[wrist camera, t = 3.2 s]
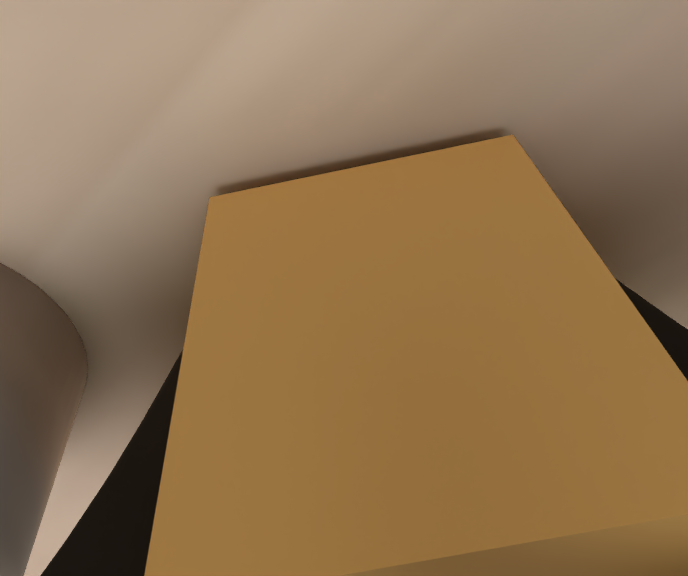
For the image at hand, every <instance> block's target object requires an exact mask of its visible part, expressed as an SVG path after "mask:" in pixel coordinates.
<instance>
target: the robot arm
mask: <svg viewBox="0 0 688 576" xmlns="http://www.w3.org/2000/svg"><path fill="white" fill-rule="evenodd" d="M616 281H617V282H618V284H619V285H620V286H621V288H622V289H623V291H624V292H625V293H626V295H627V296H628V298H629V299H630V300H631V302H632V303H633V305H634V306H635V308H636V309H637V310H638V312H639V313H640V315H641V316H642V317H643V319H644V320H645V322H646V323H647V324H648V326H649V327H650V329H651V330H652V331H653V333H654V334H655V336H656V337H657V339H658V340H659V341H660V343H661V344H662V346H663V347H664V348H665V350H666V351H667V353H668V354H669V355H670V357H671V358H672V360H673V361H674V362H675V364H676V365H677V367H678V368H679V370H680V371H681V372H682V374H683V375H684V377H685V378H686V379H687V381H688V330H687V329H686V328H685V327H683V326H682V325H680V324H679V323H677V322H676V321H674V320H673V319H672V318H670V317H669V316H667V315H666V314H664V313H663V312H662V311H660V310H659V309H657V308H656V307H655V306H653V305H652V304H650V303H649V302H647V301H646V300H645V299H643V298H642V297H640V296H639V295H638V294H636V293H635V292H633V291H632V290H631V289H629V288H628V287H626V286H625V285H624V284H622V283H621V282H619V281H618V280H617V279H616ZM182 354H183V350H182V352H181V354H180V355H179V357H178V359H177V360H176V362H175V364H174V366H173V368H172V369H171V371H170V373H169V375H168V377H167V378H166V380H165V382H164V384H163V385H162V387H161V389H160V391H159V393H158V394H157V396H156V398H155V400H154V401H153V403H152V405H151V407H150V408H149V410H148V412H147V414H146V415H145V417H144V419H143V420H142V422H141V424H140V426H139V427H138V429H137V431H136V432H135V434H134V435H133V437H132V439H131V440H130V442H129V444H128V445H127V447H126V449H125V450H124V452H123V454H122V455H121V457H120V459H119V460H118V462H117V464H116V465H115V467H114V468H113V470H112V472H111V473H110V475H109V476H108V478H107V480H106V481H105V483H104V484H103V486H102V487H101V489H100V490H99V492H98V493H97V495H96V496H95V498H94V499H93V501H92V502H91V504H90V505H89V507H88V508H87V510H86V511H85V513H84V514H83V516H82V517H81V519H80V520H79V522H78V523H77V525H76V526H75V528H74V529H73V531H72V532H71V534H70V535H69V537H68V538H67V540H66V541H65V542H64V544H63V545H62V547H61V548H60V549H59V551H58V552H57V554H56V555H55V556H54V558H53V559H52V561H51V562H50V563H49V565H48V566H47V568H46V569H45V570H44V572H43V573H42V574H41V576H144V575H145V569H146V563H147V557H148V551H149V546H150V540H151V534H152V528H153V522H154V517H155V511H156V505H157V499H158V493H159V488H160V482H161V476H162V470H163V464H164V459H165V453H166V447H167V441H168V435H169V430H170V424H171V418H172V412H173V406H174V401H175V395H176V389H177V383H178V377H179V372H180V366H181V360H182Z"/></svg>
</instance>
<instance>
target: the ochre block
mask: <svg viewBox="0 0 688 576" xmlns="http://www.w3.org/2000/svg"><path fill="white" fill-rule="evenodd" d="M144 576H688V381H687V379H686V378H685V377H684V375H683V374H682V372H681V371H680V370H679V368H678V367H677V365H676V364H675V362H674V361H673V360H672V358H671V357H670V355H669V354H668V353H667V351H666V350H665V348H664V347H663V346H662V344H661V343H660V341H659V340H658V339H657V337H656V336H655V334H654V333H653V331H652V330H651V329H650V327H649V326H648V324H647V323H646V322H645V320H644V319H643V317H642V316H641V315H640V313H639V312H638V310H637V309H636V308H635V306H634V305H633V303H632V302H631V300H630V299H629V298H628V296H627V295H626V293H625V292H624V291H623V289H622V288H621V286H620V285H619V284H618V282H617V281H616V279H615V278H614V276H613V275H612V274H611V272H610V271H609V269H608V268H607V267H606V265H605V264H604V262H603V261H602V260H601V258H600V257H599V255H598V254H597V253H596V251H595V250H594V248H593V247H592V245H591V244H590V243H589V241H588V240H587V238H586V237H585V236H584V234H583V233H582V231H581V230H580V229H579V227H578V226H577V224H576V223H575V222H574V220H573V219H572V217H571V216H570V214H569V213H568V212H567V210H566V209H565V207H564V206H563V205H562V203H561V202H560V200H559V199H558V198H557V196H556V195H555V193H554V192H553V191H552V189H551V188H550V186H549V185H548V183H547V182H546V181H545V179H544V178H543V176H542V175H541V174H540V172H539V171H538V169H537V168H536V167H535V165H534V164H533V162H532V161H531V160H530V158H529V157H528V155H527V154H526V152H525V151H524V150H523V148H522V147H521V145H520V144H519V143H518V141H517V140H516V138H515V137H514V136H513V135H508V136H504V137H499V138H494V139H489V140H484V141H479V142H475V143H470V144H465V145H460V146H455V147H450V148H446V149H441V150H436V151H431V152H426V153H421V154H416V155H412V156H407V157H402V158H397V159H392V160H387V161H383V162H378V163H373V164H368V165H363V166H358V167H354V168H349V169H344V170H339V171H334V172H329V173H325V174H320V175H315V176H310V177H305V178H300V179H296V180H291V181H286V182H281V183H276V184H271V185H266V186H262V187H257V188H252V189H247V190H242V191H237V192H233V193H228V194H223V195H218V196H213V197H210V198H209V204H208V209H207V215H206V221H205V227H204V233H203V238H202V244H201V250H200V256H199V262H198V267H197V273H196V279H195V285H194V291H193V296H192V302H191V308H190V314H189V320H188V325H187V331H186V337H185V343H184V348H183V354H182V360H181V366H180V372H179V377H178V383H177V389H176V395H175V401H174V406H173V412H172V418H171V424H170V430H169V435H168V441H167V447H166V453H165V459H164V464H163V470H162V476H161V482H160V488H159V493H158V499H157V505H156V511H155V517H154V522H153V528H152V534H151V540H150V546H149V551H148V557H147V563H146V569H145V575H144Z"/></svg>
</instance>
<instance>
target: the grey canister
mask: <svg viewBox="0 0 688 576" xmlns="http://www.w3.org/2000/svg"><path fill="white" fill-rule="evenodd" d="M87 370H88V364H87V357H86V352H85V349H84V346H83V343H82V340H81V338H80V336H79V334H78V332H77V330H76V328H75V326H74V325H73V323H72V322H71V321H70V319H69V318H68V316H67V315H66V314H65V312H64V311H63V310H62V309H61V308H60V307H59V306H58V305H57V304H56V302H55V301H54V300H53V299H52V298H51V297H49V296H48V295H47V294H46V293H45V292H44V291H42V290H41V289H40V288H39V287H38V286H36V285H35V284H34V283H32V282H31V281H29V280H28V279H27V278H25V277H24V276H22V275H21V274H19V273H17V272H16V271H14V270H12V269H10V268H9V267H7V266H5V265H3V264H1V263H0V576H23V575H24V572H25V569H26V566H27V563H28V560H29V557H30V554H31V551H32V548H33V545H34V542H35V539H36V535H37V532H38V529H39V526H40V523H41V520H42V517H43V514H44V511H45V508H46V505H47V502H48V499H49V496H50V493H51V490H52V486H53V483H54V480H55V477H56V474H57V471H58V468H59V465H60V462H61V459H62V456H63V453H64V450H65V447H66V444H67V441H68V437H69V434H70V431H71V428H72V425H73V422H74V419H75V416H76V413H77V410H78V407H79V404H80V401H81V398H82V395H83V392H84V388H85V384H86V380H87Z"/></svg>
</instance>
